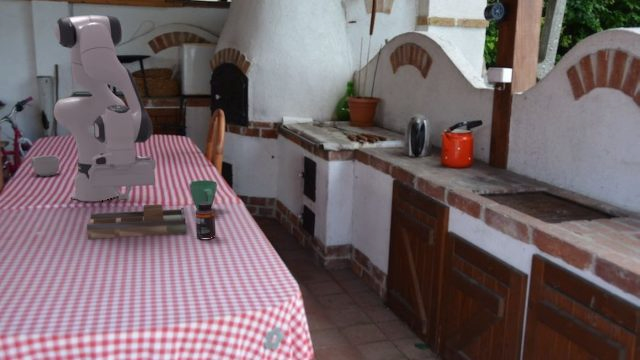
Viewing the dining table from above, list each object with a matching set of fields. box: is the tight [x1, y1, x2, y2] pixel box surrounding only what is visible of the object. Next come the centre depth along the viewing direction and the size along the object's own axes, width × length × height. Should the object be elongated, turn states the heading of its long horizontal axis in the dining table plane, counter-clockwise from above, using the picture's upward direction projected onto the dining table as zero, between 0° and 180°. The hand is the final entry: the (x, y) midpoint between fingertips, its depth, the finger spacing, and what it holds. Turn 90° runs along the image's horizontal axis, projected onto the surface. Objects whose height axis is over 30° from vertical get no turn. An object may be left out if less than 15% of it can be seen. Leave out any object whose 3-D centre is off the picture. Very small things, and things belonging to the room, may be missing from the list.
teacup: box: [29, 154, 60, 177], centre depth 283 cm, size 14×11×8 cm
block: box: [143, 203, 164, 221], centre depth 207 cm, size 6×6×4 cm
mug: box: [189, 179, 218, 211], centre depth 229 cm, size 15×10×10 cm
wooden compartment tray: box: [86, 207, 187, 240], centre depth 207 cm, size 13×30×5 cm, turn 104°
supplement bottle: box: [195, 202, 216, 239], centre depth 200 cm, size 6×6×11 cm
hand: (123, 199), depth 203 cm, fingers closed
